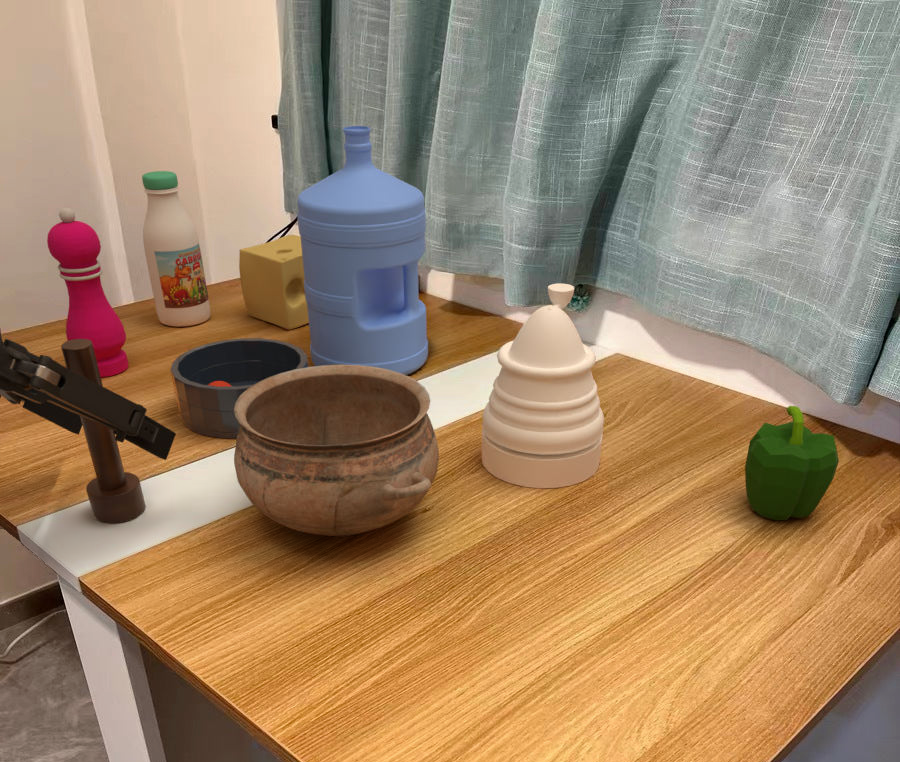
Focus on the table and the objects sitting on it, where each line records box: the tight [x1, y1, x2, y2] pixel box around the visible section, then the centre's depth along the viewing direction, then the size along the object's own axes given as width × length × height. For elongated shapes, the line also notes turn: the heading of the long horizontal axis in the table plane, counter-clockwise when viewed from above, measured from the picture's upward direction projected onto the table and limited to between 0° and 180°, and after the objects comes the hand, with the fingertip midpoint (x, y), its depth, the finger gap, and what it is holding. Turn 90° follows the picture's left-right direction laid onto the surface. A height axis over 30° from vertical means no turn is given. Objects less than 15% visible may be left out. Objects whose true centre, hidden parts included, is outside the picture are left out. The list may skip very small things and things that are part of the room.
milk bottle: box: [141, 170, 212, 327], centre depth 127 cm, size 8×8×20 cm
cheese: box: [238, 234, 309, 331], centre depth 131 cm, size 10×11×10 cm
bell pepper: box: [744, 405, 840, 521], centre depth 85 cm, size 8×8×10 cm
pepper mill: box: [46, 207, 130, 378], centre depth 111 cm, size 7×7×20 cm
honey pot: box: [481, 283, 605, 489], centre depth 91 cm, size 13×13×18 cm
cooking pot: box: [233, 365, 440, 538], centre depth 83 cm, size 25×19×12 cm
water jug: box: [296, 125, 429, 376], centre depth 111 cm, size 16×16×28 cm
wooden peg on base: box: [60, 339, 147, 524], centre depth 83 cm, size 5×5×17 cm
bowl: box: [170, 337, 309, 440], centre depth 105 cm, size 16×16×6 cm
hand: (123, 433), depth 86 cm, fingers open, 11 cm apart
